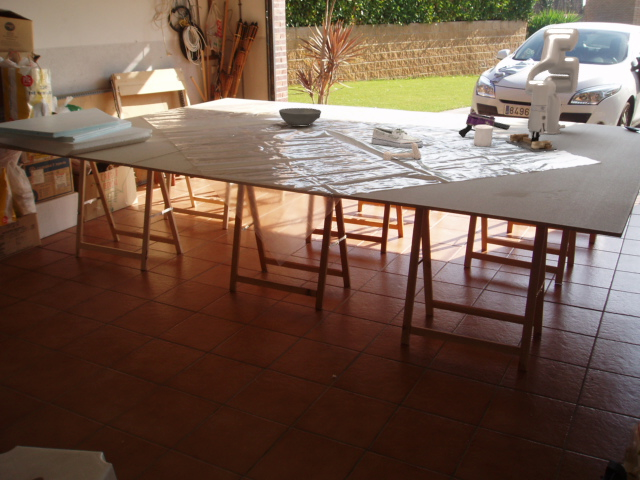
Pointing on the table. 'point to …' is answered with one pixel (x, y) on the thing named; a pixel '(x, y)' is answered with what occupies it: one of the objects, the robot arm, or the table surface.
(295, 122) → the bowl
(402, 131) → the boat shoe
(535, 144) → the sliding jaw
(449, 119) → the table surface
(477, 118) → the toy gun
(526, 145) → the strip
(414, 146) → the beige knobbed bar
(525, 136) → the rail
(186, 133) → the table surface
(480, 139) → the cup
